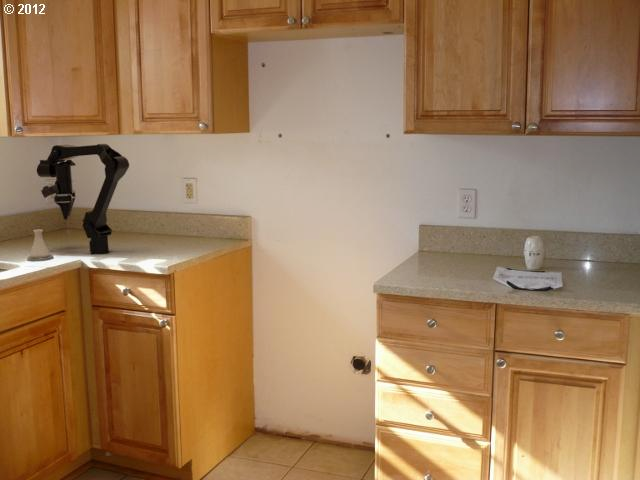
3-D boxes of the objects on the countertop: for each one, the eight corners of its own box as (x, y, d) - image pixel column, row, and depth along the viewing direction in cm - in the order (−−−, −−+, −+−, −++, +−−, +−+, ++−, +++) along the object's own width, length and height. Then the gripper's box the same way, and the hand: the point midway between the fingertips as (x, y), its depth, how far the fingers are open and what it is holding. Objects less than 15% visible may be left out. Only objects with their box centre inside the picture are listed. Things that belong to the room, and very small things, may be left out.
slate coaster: (54, 255, 268) (54, 253, 268) (51, 260, 260) (51, 258, 259) (29, 257, 266) (29, 255, 266) (25, 261, 257) (25, 259, 257)
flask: (27, 259, 258) (24, 231, 257) (32, 255, 266) (30, 228, 264) (47, 258, 259) (45, 231, 258) (52, 254, 266) (50, 228, 265)
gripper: (44, 176, 280) (47, 215, 283) (38, 180, 263) (41, 222, 265) (74, 175, 283) (77, 214, 286) (70, 179, 265) (73, 220, 268)
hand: (66, 217), depth 276 cm, fingers open, 9 cm apart
